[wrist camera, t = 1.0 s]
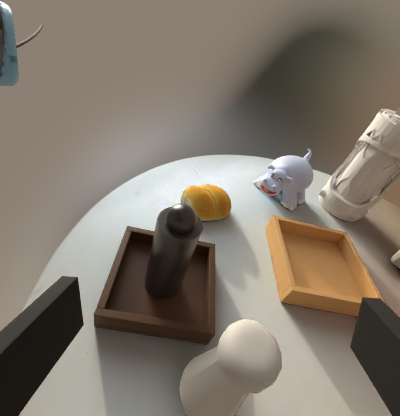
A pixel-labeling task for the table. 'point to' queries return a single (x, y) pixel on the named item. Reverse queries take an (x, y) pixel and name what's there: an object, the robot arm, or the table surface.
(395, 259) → the headphones
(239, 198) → the table surface
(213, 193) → the bread roll
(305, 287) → the pale tray
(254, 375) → the salt shaker
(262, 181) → the hippopotamus toy
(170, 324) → the dark tray
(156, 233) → the pepper mill
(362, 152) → the lantern
